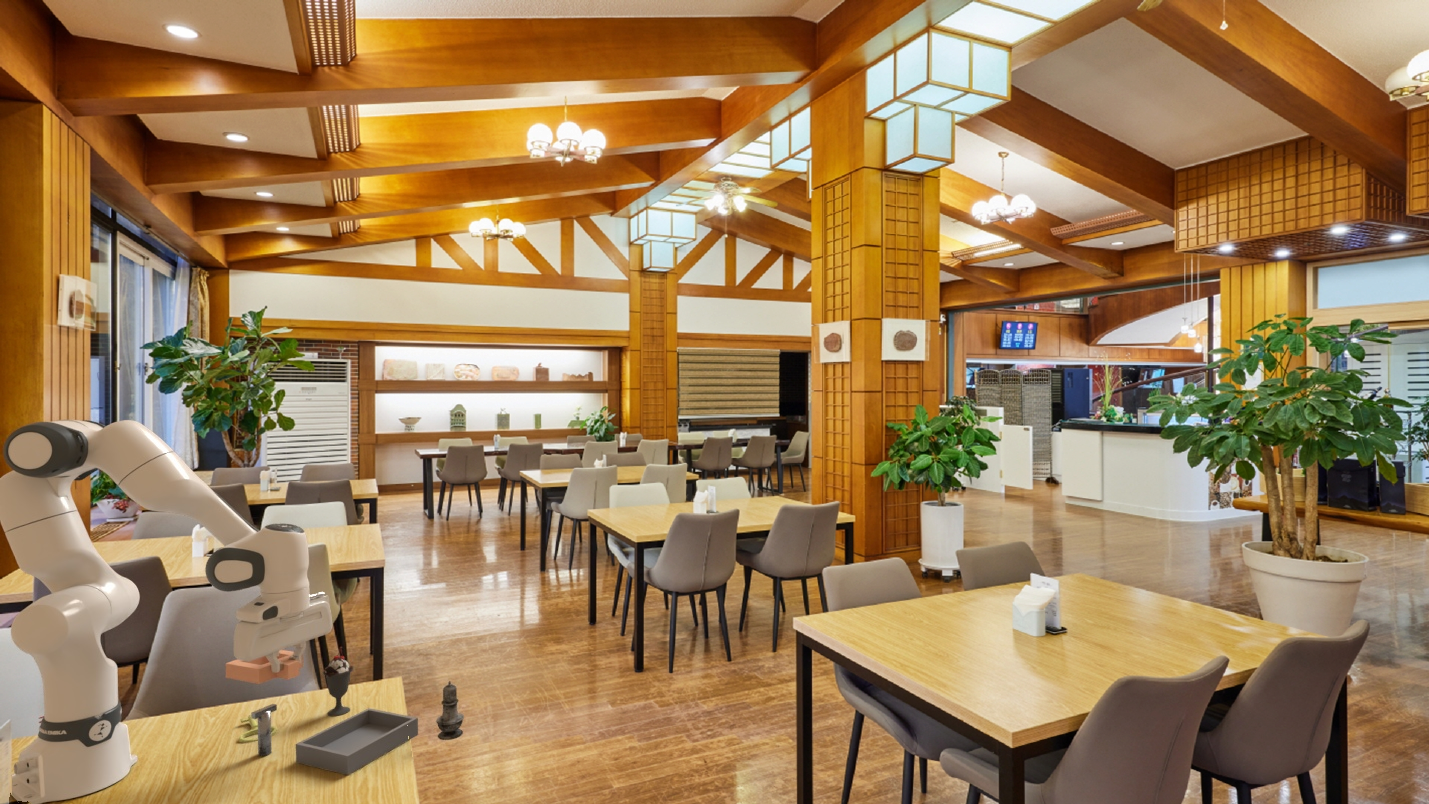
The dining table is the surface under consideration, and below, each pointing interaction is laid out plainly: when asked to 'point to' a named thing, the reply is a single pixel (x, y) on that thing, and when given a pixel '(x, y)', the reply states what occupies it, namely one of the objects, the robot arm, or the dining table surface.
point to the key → (253, 730)
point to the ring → (263, 668)
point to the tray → (356, 741)
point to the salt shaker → (450, 715)
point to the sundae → (338, 682)
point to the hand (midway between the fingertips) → (286, 668)
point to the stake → (264, 728)
